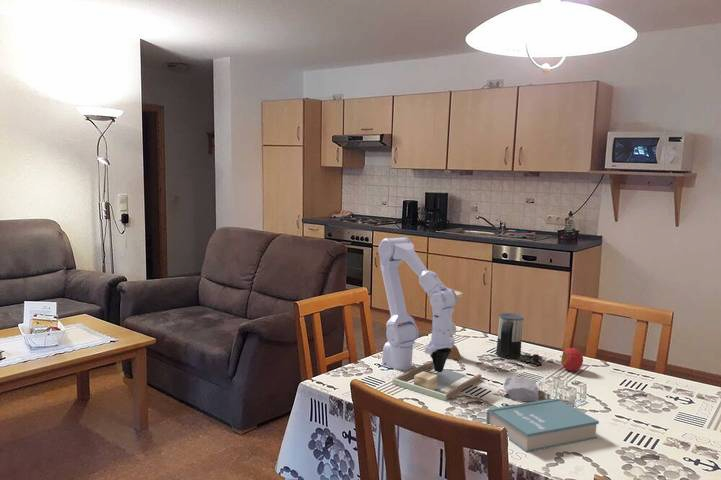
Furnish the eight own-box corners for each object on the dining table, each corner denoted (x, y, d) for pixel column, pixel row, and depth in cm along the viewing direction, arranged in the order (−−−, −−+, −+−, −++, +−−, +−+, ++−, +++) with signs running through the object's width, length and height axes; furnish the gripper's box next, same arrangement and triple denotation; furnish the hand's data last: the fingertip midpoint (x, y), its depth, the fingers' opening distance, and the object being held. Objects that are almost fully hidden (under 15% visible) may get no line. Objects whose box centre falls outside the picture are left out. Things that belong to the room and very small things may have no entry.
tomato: (585, 346, 194) (563, 340, 194) (588, 365, 188) (565, 360, 188) (575, 358, 199) (554, 353, 199) (577, 377, 194) (555, 372, 194)
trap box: (392, 388, 171) (392, 378, 171) (430, 369, 189) (431, 360, 189) (444, 405, 160) (445, 395, 160) (480, 383, 178) (481, 374, 178)
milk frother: (494, 349, 213) (497, 311, 211) (537, 353, 211) (541, 315, 209) (497, 362, 199) (500, 321, 197) (543, 366, 197) (547, 325, 195)
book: (526, 454, 135) (527, 434, 134) (485, 425, 150) (487, 407, 149) (597, 439, 144) (598, 421, 143) (552, 414, 159) (554, 397, 158)
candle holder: (462, 363, 196) (466, 296, 193) (430, 362, 196) (434, 294, 193) (457, 353, 207) (461, 289, 204) (427, 352, 207) (431, 288, 204)
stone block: (506, 405, 167) (541, 402, 165) (504, 389, 167) (539, 386, 165) (503, 391, 179) (536, 389, 177) (501, 376, 178) (534, 374, 176)
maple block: (413, 388, 168) (414, 375, 167) (422, 383, 172) (423, 371, 171) (428, 393, 165) (428, 379, 164) (436, 388, 169) (437, 375, 168)
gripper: (440, 336, 164) (437, 380, 166) (464, 326, 176) (461, 368, 178) (420, 331, 169) (417, 374, 171) (444, 322, 180) (441, 362, 182)
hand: (438, 371), depth 174 cm, fingers closed
